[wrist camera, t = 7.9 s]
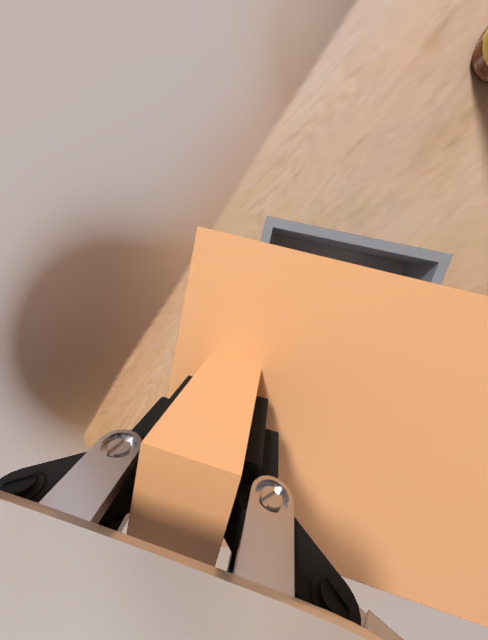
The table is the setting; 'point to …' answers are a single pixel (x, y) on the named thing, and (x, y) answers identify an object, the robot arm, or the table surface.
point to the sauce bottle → (481, 57)
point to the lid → (330, 417)
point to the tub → (358, 249)
